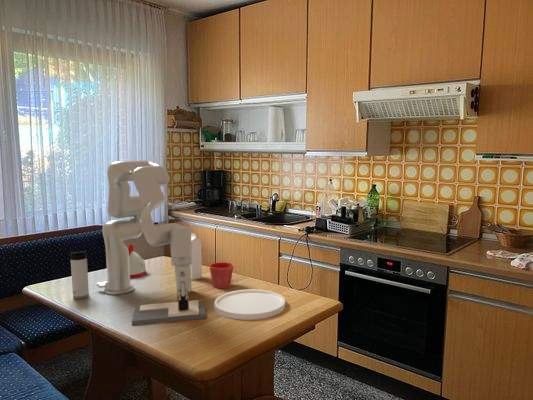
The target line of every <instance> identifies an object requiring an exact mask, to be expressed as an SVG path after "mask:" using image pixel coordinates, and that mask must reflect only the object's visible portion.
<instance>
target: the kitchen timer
mask: <svg viewBox="0 0 533 400" xmlns="http://www.w3.org/2000/svg"><path fill="white" fill-rule="evenodd" d="M127 248H128V250H129V266H130V279H135V278H140V277H143V276H145V275H146V274H147V269H146V262H145V259H143V258H142V257H141V256H140V254H139V253H137V252H135V251H134V245H133V244H129V245H128V247H127Z"/></svg>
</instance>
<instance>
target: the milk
mask: <svg viewBox="0 0 533 400" xmlns="http://www.w3.org/2000/svg"><path fill="white" fill-rule="evenodd" d="M191 240H192V264H191V265H190V266H191V281H194V280H198V279H201V278H203V268H202V267H203V266H202V240H201V239H200V238H199V237H197V234H196V233H193V232H191Z"/></svg>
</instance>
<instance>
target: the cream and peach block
mask: <svg viewBox="0 0 533 400" xmlns="http://www.w3.org/2000/svg"><path fill="white" fill-rule="evenodd" d="M189 294H190V293H188V292H187V299H188V310H182V311H180V310H179V293H177V292H176V296H177V295H178V306H175V307H168V317H175V316H186V315H197V314H199V308H198V305H189V301H190V299H189V298H190V297H189V296H190V295H189Z"/></svg>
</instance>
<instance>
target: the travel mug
mask: <svg viewBox="0 0 533 400" xmlns="http://www.w3.org/2000/svg"><path fill="white" fill-rule="evenodd" d="M69 255H70V256H69V258H70V271H71V285H72V299H74V300H82V299H86V298H88V297H89V296H90V291H89V290H90V289H89V287H90V286H89V275H88V274H89V273H88V259H87V257H88V256H87V251H86V250H81V251H71V252H70V253H69Z"/></svg>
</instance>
